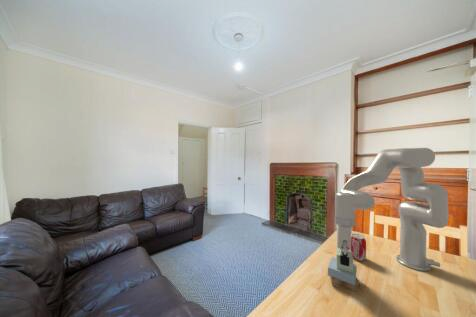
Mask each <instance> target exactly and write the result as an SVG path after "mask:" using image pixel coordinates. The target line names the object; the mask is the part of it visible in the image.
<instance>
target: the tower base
mask: <svg viewBox="0 0 476 317" xmlns="http://www.w3.org/2000/svg"><path fill="white" fill-rule="evenodd" d="M329 278H330V281H331V283H330V284H331V286H333V287H337V288H342V289H346V290H352V291H355V292H356V291H357V292H360V289H361V288H360V286H361V284H360V282H359V280H358V277H357V276H356V282H355V285H353V284H350V283H348V282H345V281H342V280H339V279H337V278H334V277H331V276H329Z"/></svg>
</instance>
